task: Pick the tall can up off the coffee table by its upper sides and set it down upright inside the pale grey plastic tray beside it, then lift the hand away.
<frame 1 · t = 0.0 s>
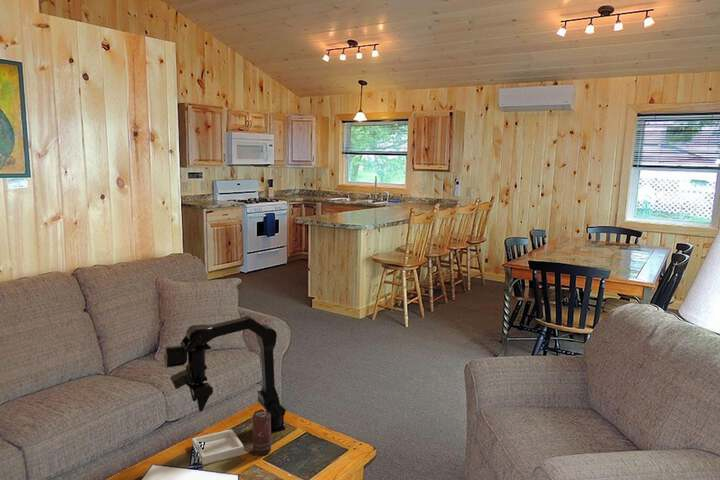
hand: (197, 406, 182), 15 cm above the table, tool pointing down, fingers open, 9 cm apart
tray: (218, 450, 181), on the table
can: (262, 451, 181), on the table
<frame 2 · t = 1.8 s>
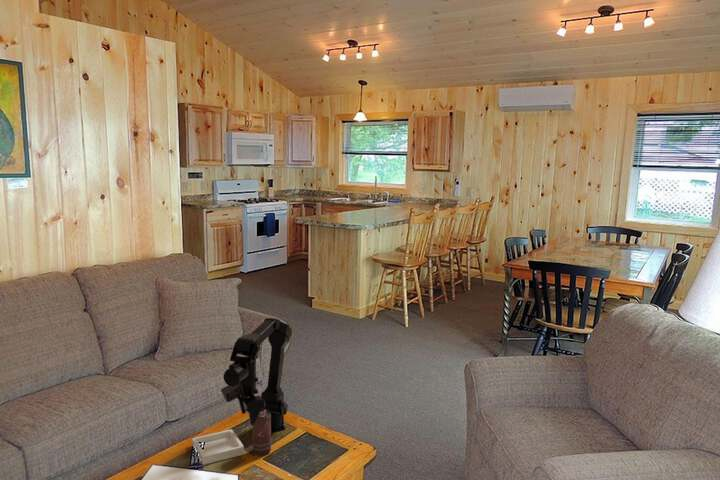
hand: (247, 419, 177), 13 cm above the table, tool pointing down, fingers open, 9 cm apart
nothing on the table moved.
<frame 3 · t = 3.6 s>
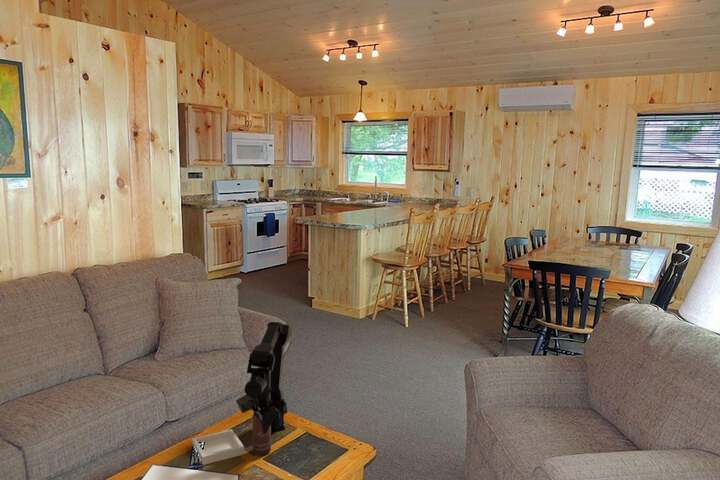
hand: (261, 429, 180), 8 cm above the table, tool pointing down, fingers closed on can, 5 cm apart
can: (262, 451, 181), on the table, touching gripper
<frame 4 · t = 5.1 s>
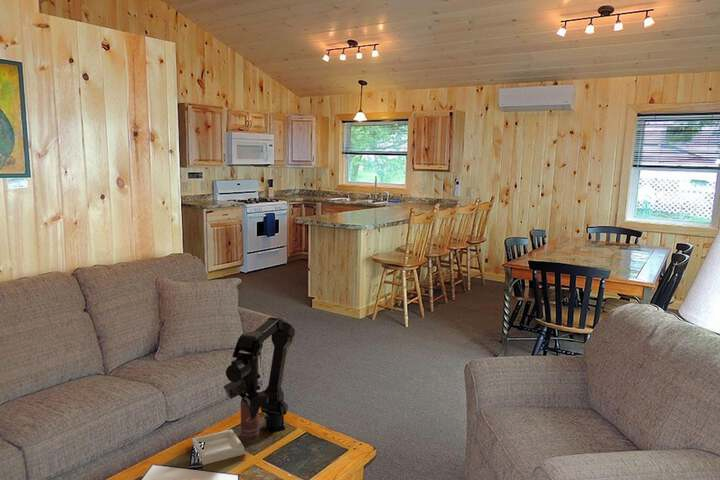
hand: (250, 415, 179), 13 cm above the table, tool pointing down, fingers closed on can, 5 cm apart
can: (250, 437, 180), point 5 cm above the table, touching gripper
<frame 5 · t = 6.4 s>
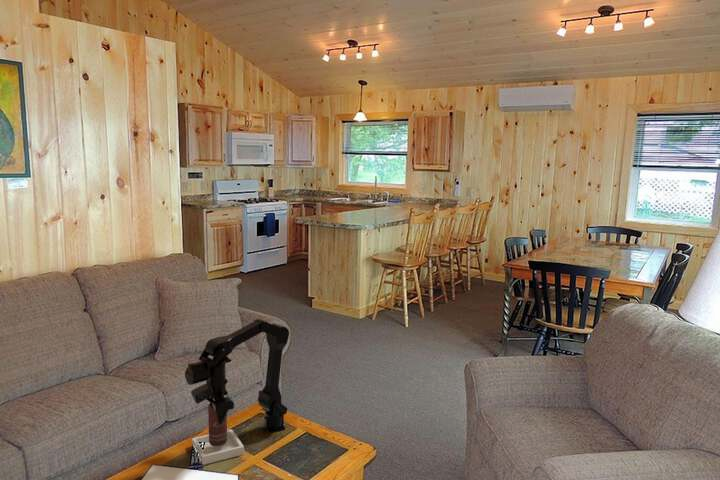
hand: (217, 420, 180), 11 cm above the table, tool pointing down, fingers closed on can, 5 cm apart
can: (218, 442, 181), point 3 cm above the table, touching gripper
when the fingers open (10 cm above the table, at t = 7.0 s): can drops 1 cm, resting on tray.
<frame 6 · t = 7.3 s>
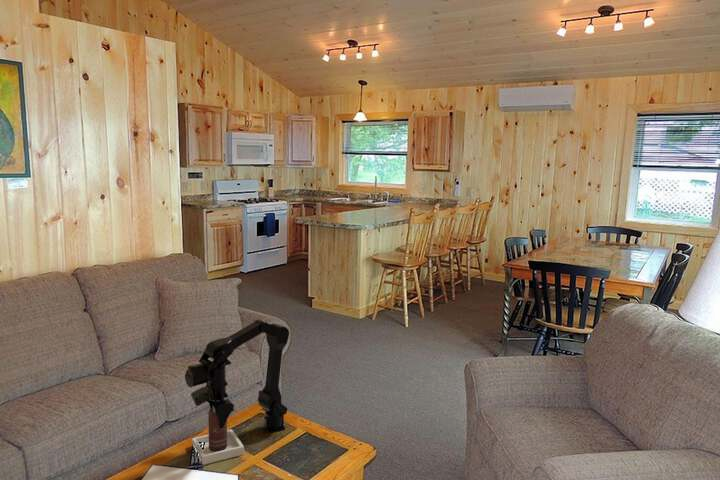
hand: (217, 422, 180), 10 cm above the table, tool pointing down, fingers open, 9 cm apart
can: (218, 448, 181), point 1 cm above the table, touching tray
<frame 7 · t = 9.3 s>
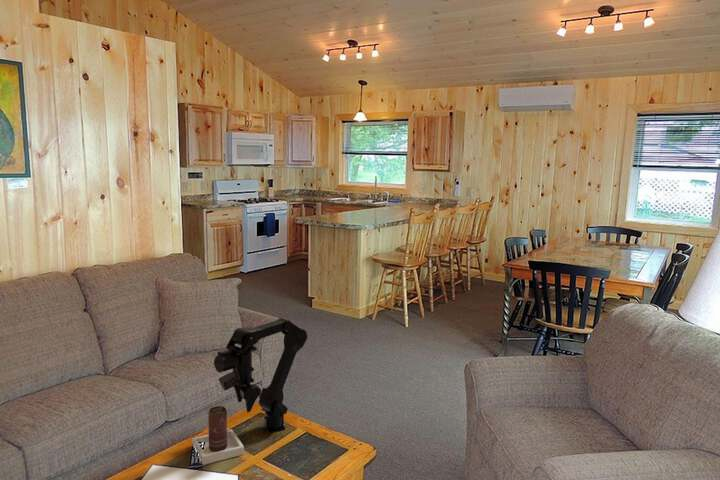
hand: (244, 406, 186), 13 cm above the table, tool pointing down, fingers open, 9 cm apart
nothing on the table moved.
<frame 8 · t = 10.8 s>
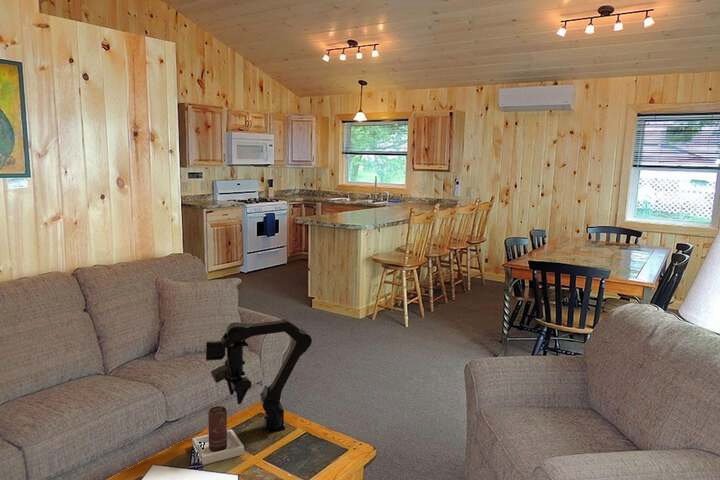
hand: (235, 399, 192), 13 cm above the table, tool pointing down, fingers open, 9 cm apart
nothing on the table moved.
at the end: can inside the target area on the tray (0.1 cm from its centre), point 0.6 cm above the tray's base; can tilted 0°; the gripper is holding nothing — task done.
